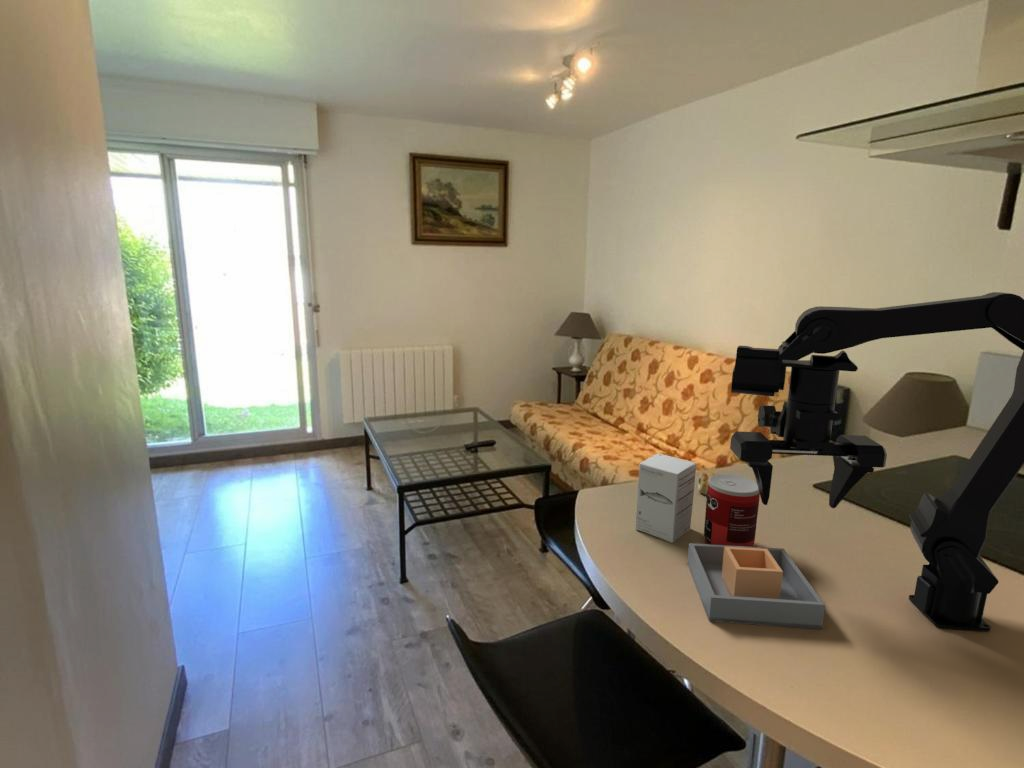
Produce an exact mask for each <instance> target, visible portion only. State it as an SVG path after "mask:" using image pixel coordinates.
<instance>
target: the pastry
mask: <svg viewBox="0 0 1024 768" xmlns="http://www.w3.org/2000/svg"><path fill="white" fill-rule="evenodd" d="M719 474H720V473H712V472H708V473H705V472H700V475H699V476H698V481H697V482H698V485H697V491H698V492H699V493H701V494H702V495H704V496H706V495H707V489H708V482H709V478H710V477H711V476H714V475H719Z"/></svg>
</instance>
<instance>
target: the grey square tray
mask: <svg viewBox="0 0 1024 768" xmlns="http://www.w3.org/2000/svg"><path fill="white" fill-rule="evenodd" d="M724 547H742V548H761V549H768V551H769V552H770V554H771V555H772V557H773V558H774V559H775V561H776V562H777V564H778V565H779V567H780V568H781V569H782V571H783V576H782V585H781V593H780V599H768V598H752V597H737V596H730V594H729V592H728V590H727V588H726V586H725V584H724V582H723V580H722V578H721V576H722V566H723V555H724ZM687 550H688V552H687V553H688V554H687V566H688V569H689V571H690V574H691V577H692V579H693V582H694V585H695V587H696V590H697V593H698V596H699V598H700V601H701V603H702V606H703V608H704V611H705V614H706V616H707V620H708V621H709V622H714V623H715V622H716V623H717V622H718V623H727V624H728V623H729V624H730V623H733V624H743V625H756V626H757V625H758V626H759V625H760V626H771V627H785V628H786V627H787V628H799V629H802V628H803V629H813V630H814V629H815V630H822V628H823V623H824V622H823V621H824V615H825V611H826V610H825V609H826V604H825V603H824V601H823V600H822V599H821V597H820V596H819V594H818V593H817V592H816V591H815V589H814V588H813V587H812V585H811V583H810V582H809V581H808V580H807V578H806V577H805V575H804V574H803V573H802V571H801V570H800V569H799V567H798V566H797V565H796V563H795V561H794V560H793V559H792V557H790V555H789V553H788V552H787V551H786V550H785V548H782V547H781V548H779V547H762V546H761V547H758V546H754V547H746V546H728V545H711V544H706V543H688V549H687Z"/></svg>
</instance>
